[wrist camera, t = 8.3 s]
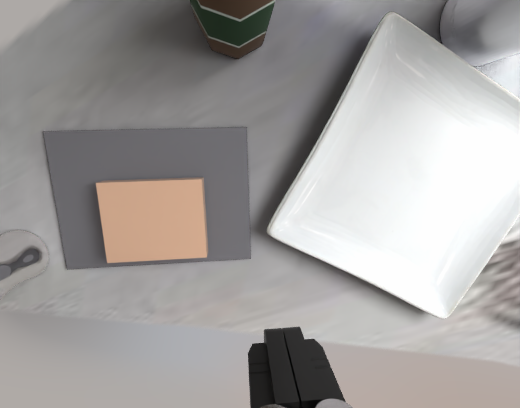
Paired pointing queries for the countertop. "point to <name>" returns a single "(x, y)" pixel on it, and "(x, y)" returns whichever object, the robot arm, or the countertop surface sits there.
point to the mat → (149, 167)
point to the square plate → (409, 172)
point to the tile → (153, 219)
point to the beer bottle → (233, 24)
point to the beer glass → (20, 258)
